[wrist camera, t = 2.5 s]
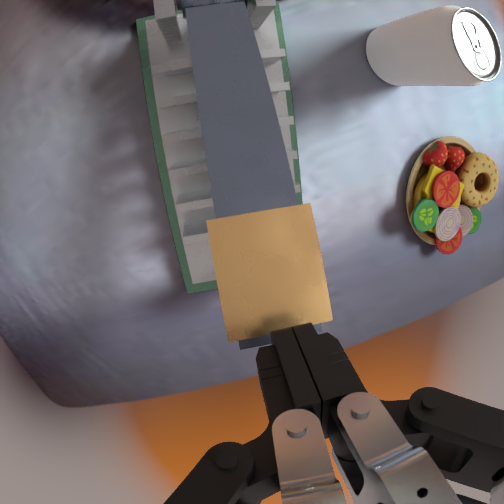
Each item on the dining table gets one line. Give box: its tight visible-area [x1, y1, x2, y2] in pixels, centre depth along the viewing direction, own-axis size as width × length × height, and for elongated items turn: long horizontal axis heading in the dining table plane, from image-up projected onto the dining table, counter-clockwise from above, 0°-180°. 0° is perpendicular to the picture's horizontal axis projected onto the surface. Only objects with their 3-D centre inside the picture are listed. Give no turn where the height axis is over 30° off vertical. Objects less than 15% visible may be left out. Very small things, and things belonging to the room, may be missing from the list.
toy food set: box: [406, 136, 499, 254], centre depth 30 cm, size 13×13×3 cm
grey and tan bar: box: [181, 0, 333, 350], centre depth 14 cm, size 21×4×2 cm, turn 7°
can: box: [366, 6, 501, 86], centre depth 19 cm, size 6×6×12 cm
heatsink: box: [136, 0, 302, 294], centre depth 22 cm, size 26×12×9 cm, turn 8°
